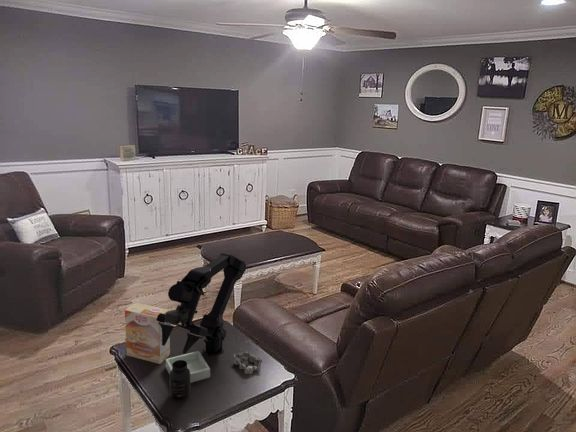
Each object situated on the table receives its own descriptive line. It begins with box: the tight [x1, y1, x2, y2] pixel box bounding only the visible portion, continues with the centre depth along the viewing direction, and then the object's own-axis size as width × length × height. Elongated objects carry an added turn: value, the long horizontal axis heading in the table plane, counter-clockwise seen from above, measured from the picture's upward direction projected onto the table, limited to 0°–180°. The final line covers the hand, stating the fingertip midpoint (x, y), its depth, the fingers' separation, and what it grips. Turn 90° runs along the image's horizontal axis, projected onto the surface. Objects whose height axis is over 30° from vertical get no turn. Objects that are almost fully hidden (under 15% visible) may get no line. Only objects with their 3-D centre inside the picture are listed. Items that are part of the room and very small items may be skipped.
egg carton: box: [233, 350, 263, 375], centre depth 164 cm, size 11×8×4 cm
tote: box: [165, 350, 211, 384], centre depth 158 cm, size 13×13×4 cm
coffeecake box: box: [124, 302, 171, 365], centre depth 165 cm, size 15×7×20 cm, turn 72°
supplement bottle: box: [168, 360, 192, 402], centre depth 145 cm, size 7×7×12 cm
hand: (173, 349), depth 149 cm, fingers open, 9 cm apart
